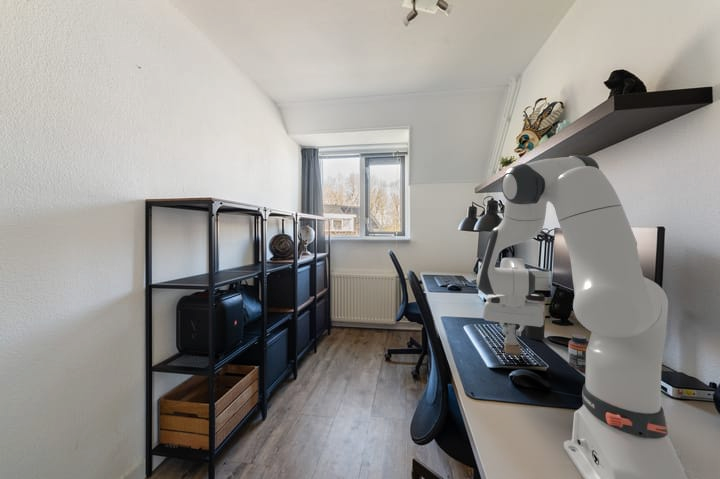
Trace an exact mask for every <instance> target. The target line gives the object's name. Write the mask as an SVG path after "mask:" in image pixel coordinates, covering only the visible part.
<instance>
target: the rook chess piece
mask: <svg viewBox="0 0 720 479" xmlns="http://www.w3.org/2000/svg"><path fill="white" fill-rule="evenodd" d="M506 327H507V334H506V337H505V338H504V340H505V343H506V344H508V345H511V346H516V345H517V344H518V343H517V342H518V339H517V337H516V327H517V324H512V323H506Z"/></svg>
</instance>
